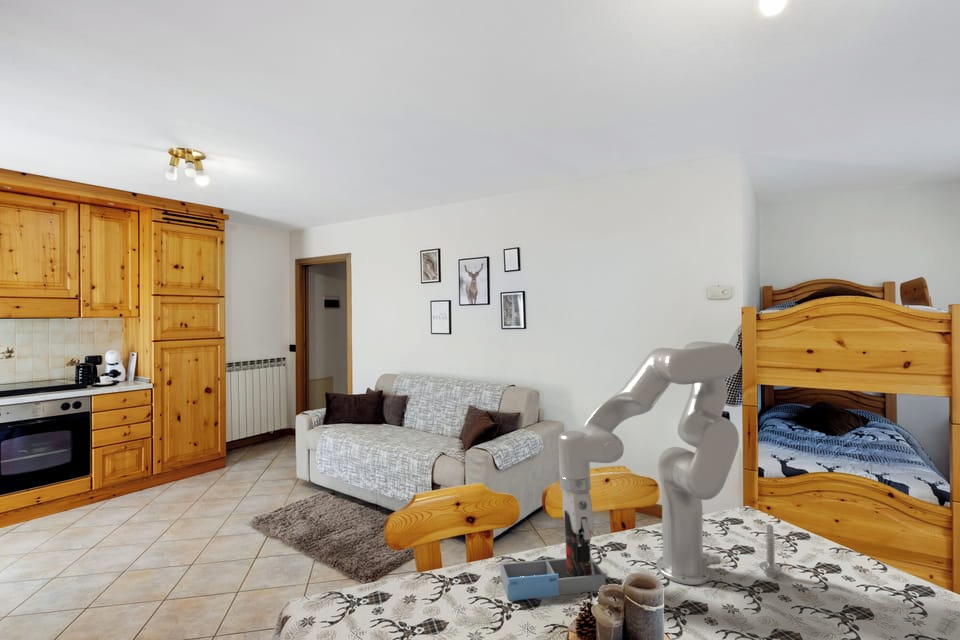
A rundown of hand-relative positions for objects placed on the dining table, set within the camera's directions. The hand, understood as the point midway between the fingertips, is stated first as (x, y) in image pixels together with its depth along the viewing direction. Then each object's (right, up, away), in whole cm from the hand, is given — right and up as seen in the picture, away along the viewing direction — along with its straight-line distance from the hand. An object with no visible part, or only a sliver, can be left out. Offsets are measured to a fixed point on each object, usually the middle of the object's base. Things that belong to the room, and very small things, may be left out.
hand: (578, 553), depth 112 cm
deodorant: (0, -5, 0) cm, 5 cm away
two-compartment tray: (-7, -7, -1) cm, 10 cm away
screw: (+49, -7, +2) cm, 50 cm away
